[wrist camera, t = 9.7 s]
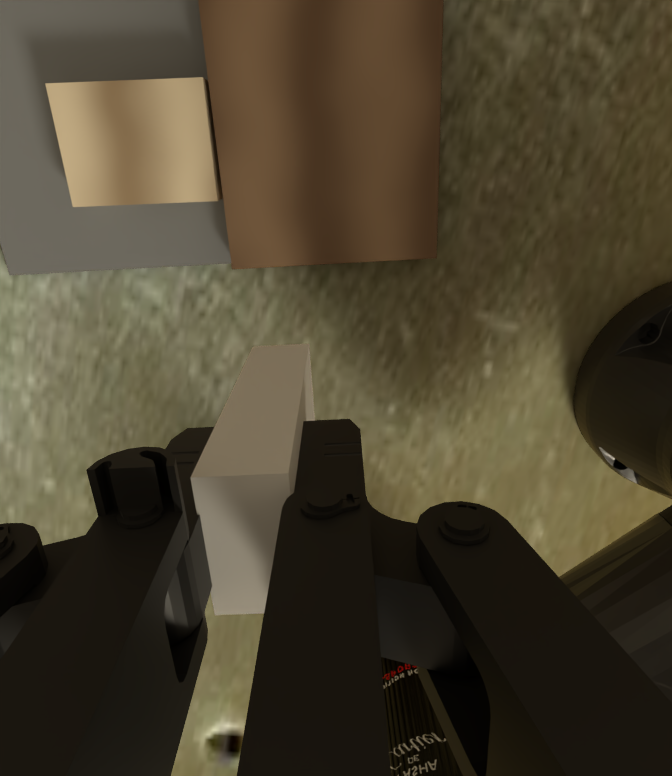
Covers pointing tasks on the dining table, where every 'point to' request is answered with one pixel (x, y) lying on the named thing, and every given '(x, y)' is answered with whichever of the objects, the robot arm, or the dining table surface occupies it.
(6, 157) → the slate mat
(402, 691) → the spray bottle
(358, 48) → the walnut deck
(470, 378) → the dining table surface
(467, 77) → the dining table surface
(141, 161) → the birch tile
